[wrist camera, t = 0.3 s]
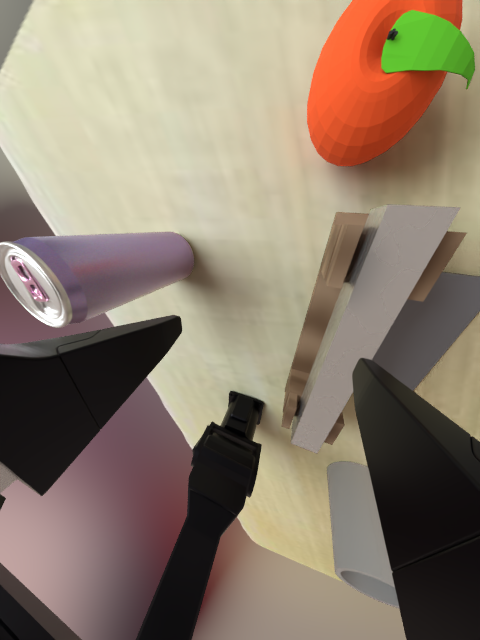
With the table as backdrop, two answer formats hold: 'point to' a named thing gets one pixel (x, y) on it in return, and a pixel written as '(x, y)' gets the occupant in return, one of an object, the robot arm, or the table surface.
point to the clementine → (382, 74)
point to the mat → (429, 328)
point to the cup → (358, 533)
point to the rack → (326, 295)
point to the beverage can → (90, 272)
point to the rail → (367, 308)
